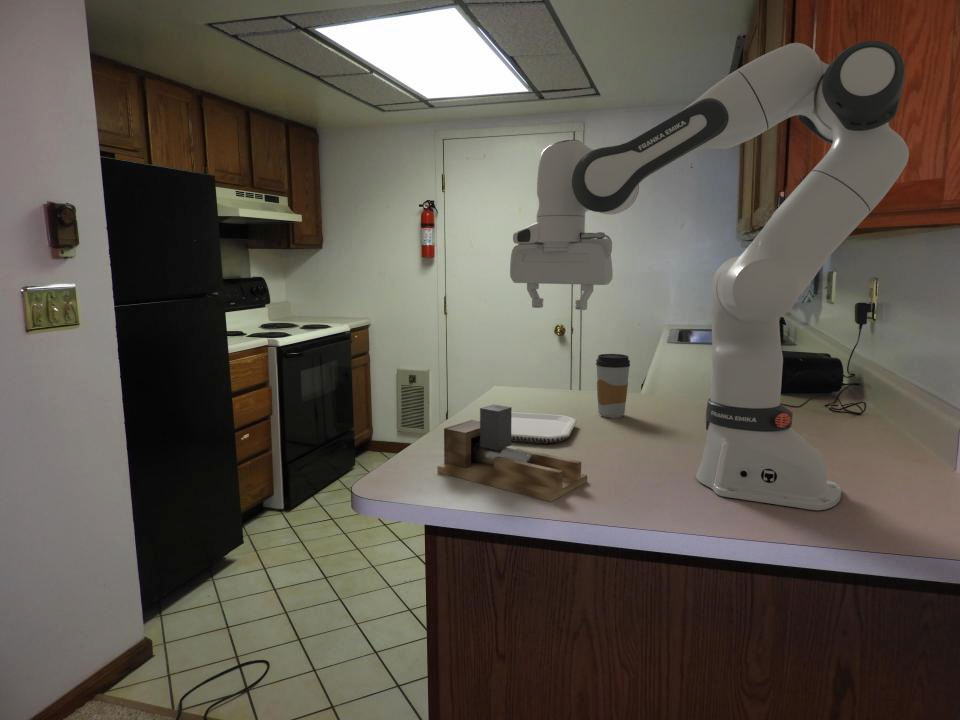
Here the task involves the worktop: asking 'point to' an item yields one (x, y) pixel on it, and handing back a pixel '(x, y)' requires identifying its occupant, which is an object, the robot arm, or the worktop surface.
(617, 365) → the coffee cup
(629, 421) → the worktop surface
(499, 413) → the grey mallet
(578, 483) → the cradle
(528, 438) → the plate
